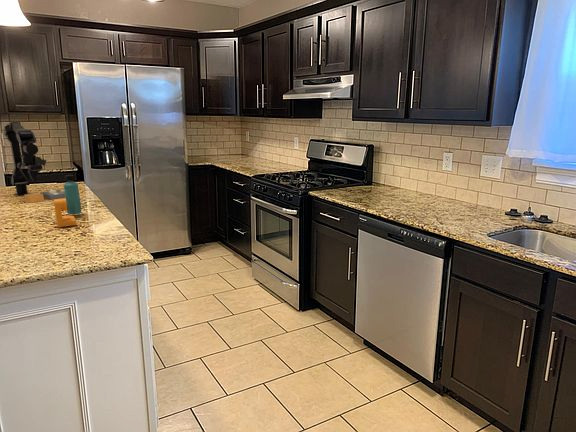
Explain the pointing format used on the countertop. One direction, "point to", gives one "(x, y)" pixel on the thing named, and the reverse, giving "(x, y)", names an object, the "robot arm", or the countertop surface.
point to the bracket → (61, 221)
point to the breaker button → (51, 191)
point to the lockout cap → (34, 197)
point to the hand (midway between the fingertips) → (31, 181)
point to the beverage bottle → (72, 196)
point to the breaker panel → (54, 194)
